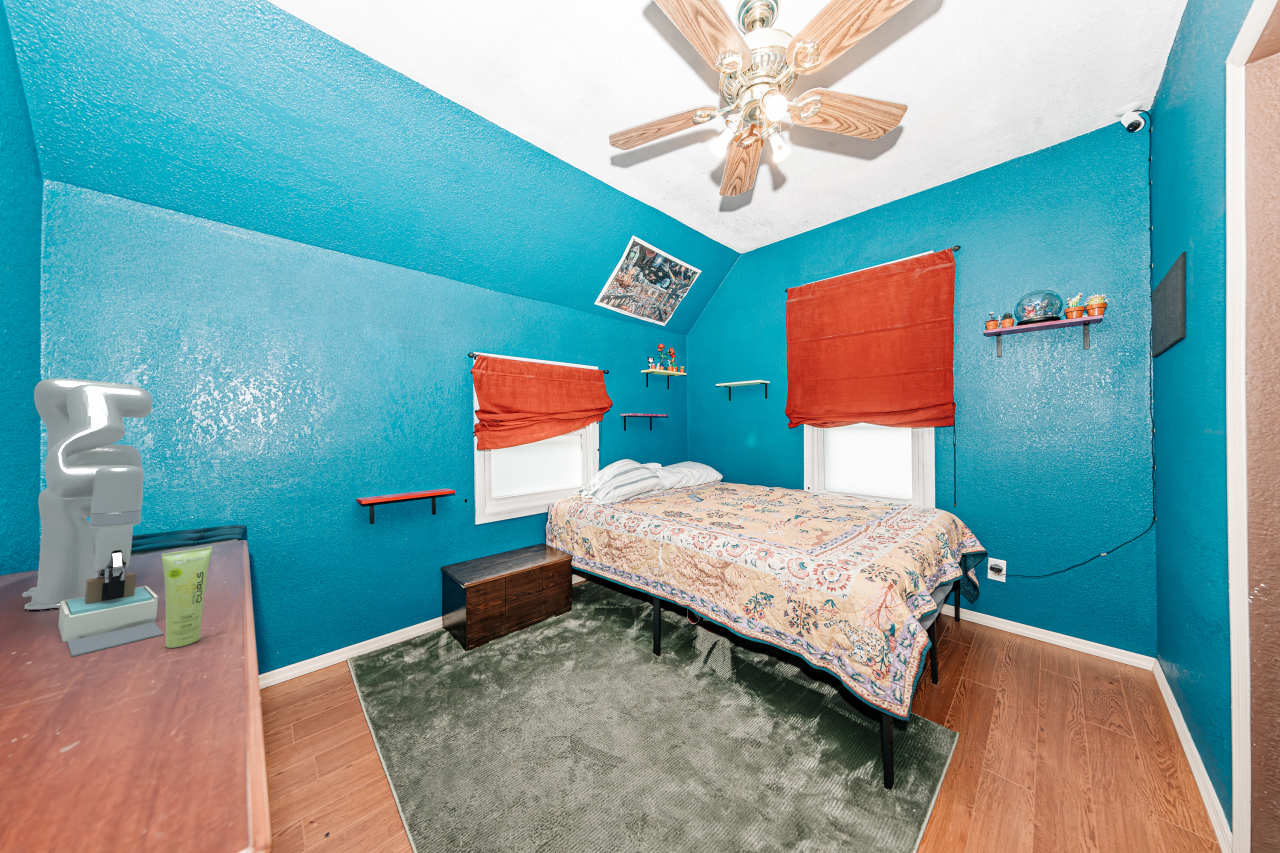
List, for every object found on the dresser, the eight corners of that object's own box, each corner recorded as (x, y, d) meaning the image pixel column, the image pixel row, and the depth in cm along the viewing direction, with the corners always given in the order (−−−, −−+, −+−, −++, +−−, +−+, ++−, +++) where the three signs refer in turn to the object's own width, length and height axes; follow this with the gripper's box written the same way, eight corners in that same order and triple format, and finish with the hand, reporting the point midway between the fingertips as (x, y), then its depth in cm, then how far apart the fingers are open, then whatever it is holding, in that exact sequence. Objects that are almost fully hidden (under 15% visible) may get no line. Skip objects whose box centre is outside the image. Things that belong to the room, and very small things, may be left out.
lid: (66, 604, 96) (68, 578, 97) (142, 590, 106) (144, 567, 106) (70, 615, 90) (73, 588, 90) (151, 600, 99) (153, 575, 100)
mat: (67, 642, 88) (67, 641, 88) (153, 623, 98) (153, 622, 98) (71, 657, 82) (71, 655, 82) (163, 634, 92) (163, 633, 92)
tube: (182, 649, 86) (189, 552, 87) (154, 650, 85) (161, 553, 86) (207, 637, 91) (212, 546, 92) (180, 638, 90) (186, 546, 92)
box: (58, 626, 96) (60, 600, 96) (145, 608, 107) (146, 585, 107) (62, 642, 88) (65, 614, 89) (156, 621, 99) (157, 596, 99)
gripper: (85, 517, 101) (79, 593, 100) (94, 525, 91) (87, 608, 90) (134, 514, 107) (129, 584, 106) (147, 520, 97) (141, 598, 96)
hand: (110, 595), depth 98 cm, fingers open, 7 cm apart
